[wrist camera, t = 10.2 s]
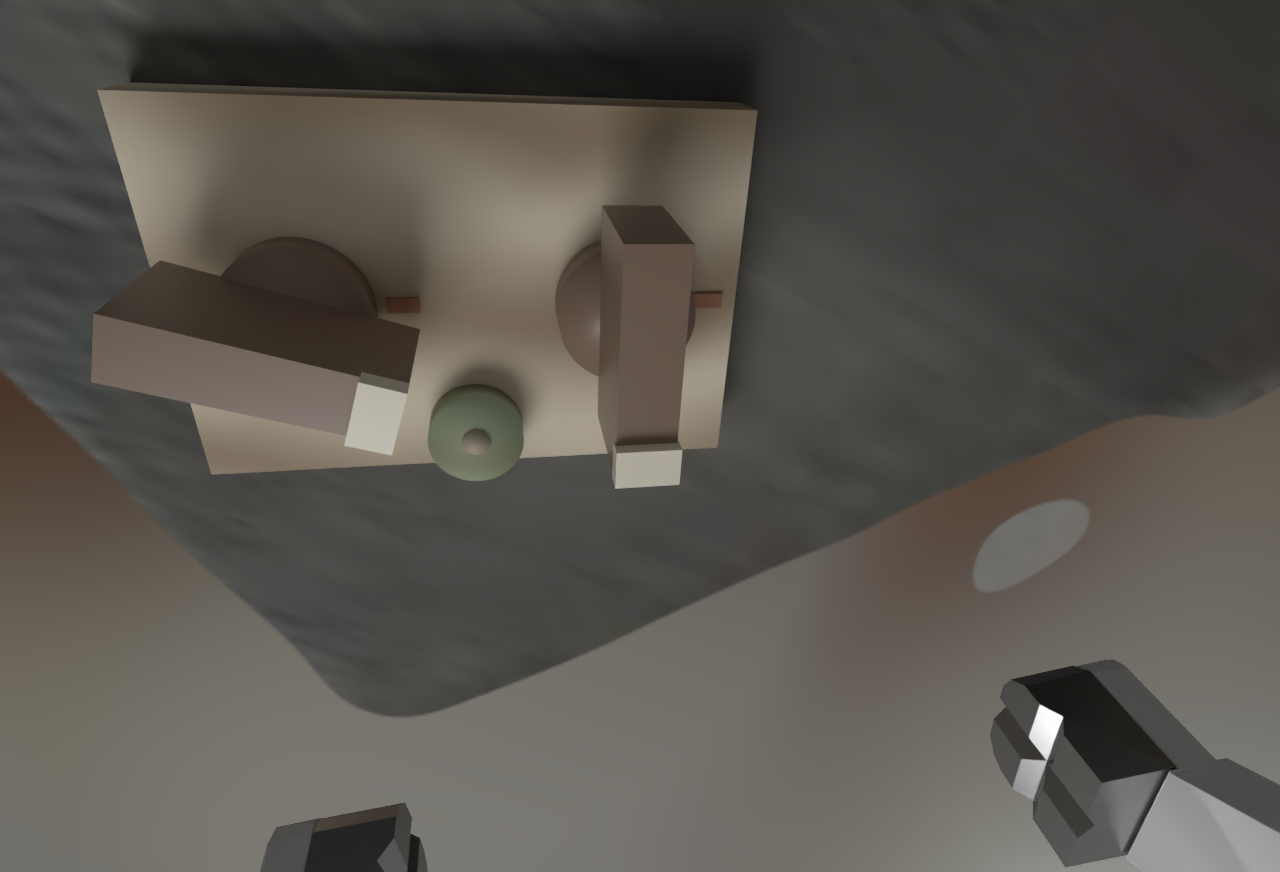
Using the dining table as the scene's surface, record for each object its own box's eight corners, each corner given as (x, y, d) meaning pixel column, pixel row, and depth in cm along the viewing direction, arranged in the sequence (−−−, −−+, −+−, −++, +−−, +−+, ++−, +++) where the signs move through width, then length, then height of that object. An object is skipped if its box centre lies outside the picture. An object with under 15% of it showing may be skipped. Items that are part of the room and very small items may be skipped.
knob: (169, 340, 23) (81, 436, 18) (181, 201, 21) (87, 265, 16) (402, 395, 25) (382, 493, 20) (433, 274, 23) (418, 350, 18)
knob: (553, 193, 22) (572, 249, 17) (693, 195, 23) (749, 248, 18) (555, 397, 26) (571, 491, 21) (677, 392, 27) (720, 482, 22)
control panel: (128, 81, 21) (67, 97, 18) (738, 102, 24) (775, 117, 21) (229, 446, 27) (196, 504, 24) (704, 424, 30) (728, 472, 27)
